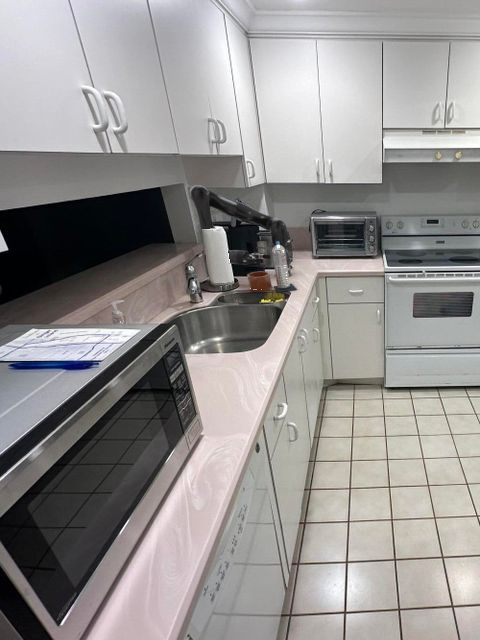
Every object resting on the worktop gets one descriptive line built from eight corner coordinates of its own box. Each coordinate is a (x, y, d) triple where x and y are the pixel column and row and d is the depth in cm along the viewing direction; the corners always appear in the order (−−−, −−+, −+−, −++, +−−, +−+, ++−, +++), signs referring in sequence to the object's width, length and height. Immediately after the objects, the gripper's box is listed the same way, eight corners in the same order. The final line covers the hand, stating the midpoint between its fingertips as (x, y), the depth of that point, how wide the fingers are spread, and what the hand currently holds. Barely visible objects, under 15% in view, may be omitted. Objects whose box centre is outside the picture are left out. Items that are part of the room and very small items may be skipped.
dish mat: (273, 287, 216) (273, 286, 215) (291, 284, 220) (291, 283, 219) (278, 292, 207) (278, 291, 207) (296, 289, 211) (296, 288, 211)
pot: (248, 287, 216) (246, 273, 212) (268, 284, 220) (266, 270, 217) (252, 292, 207) (250, 278, 203) (273, 289, 212) (271, 275, 208)
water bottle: (282, 290, 209) (275, 243, 196) (275, 287, 213) (268, 242, 200) (292, 287, 213) (286, 241, 201) (285, 284, 217) (279, 239, 205)
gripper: (231, 253, 202) (259, 254, 199) (245, 247, 214) (271, 248, 211) (234, 267, 205) (261, 269, 202) (247, 260, 217) (273, 262, 215)
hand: (266, 258), depth 207 cm, fingers open, 8 cm apart
